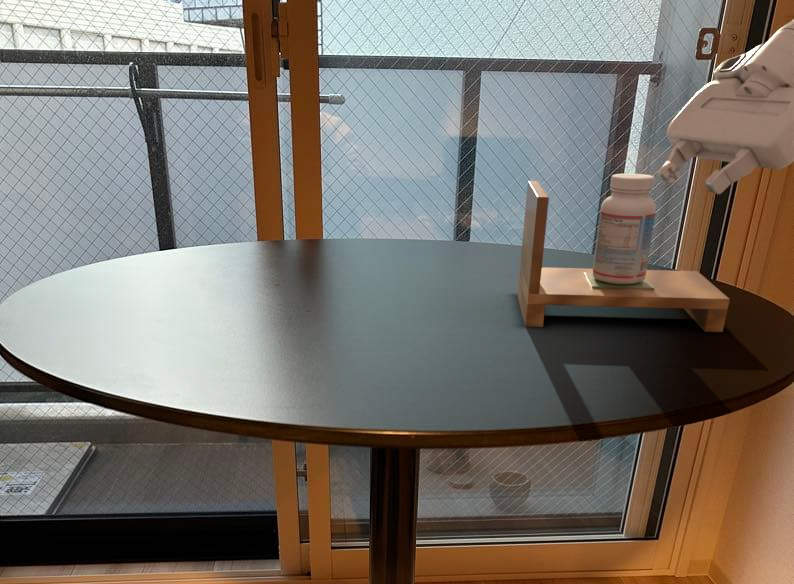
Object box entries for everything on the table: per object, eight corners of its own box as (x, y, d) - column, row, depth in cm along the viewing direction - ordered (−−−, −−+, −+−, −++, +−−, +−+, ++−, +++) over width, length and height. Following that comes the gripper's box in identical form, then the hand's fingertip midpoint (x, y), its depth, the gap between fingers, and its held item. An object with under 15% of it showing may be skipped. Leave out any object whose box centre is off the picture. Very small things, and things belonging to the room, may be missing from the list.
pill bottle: (621, 272, 98) (636, 171, 92) (655, 282, 93) (673, 177, 88) (581, 276, 96) (593, 173, 90) (614, 287, 91) (629, 180, 85)
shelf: (691, 303, 102) (714, 183, 95) (722, 335, 90) (751, 201, 83) (517, 298, 103) (527, 180, 96) (524, 329, 91) (537, 196, 84)
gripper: (864, 111, 81) (757, 218, 84) (737, 104, 98) (652, 193, 101) (839, 59, 78) (729, 172, 80) (713, 61, 95) (626, 154, 97)
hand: (686, 184), depth 91 cm, fingers open, 8 cm apart
